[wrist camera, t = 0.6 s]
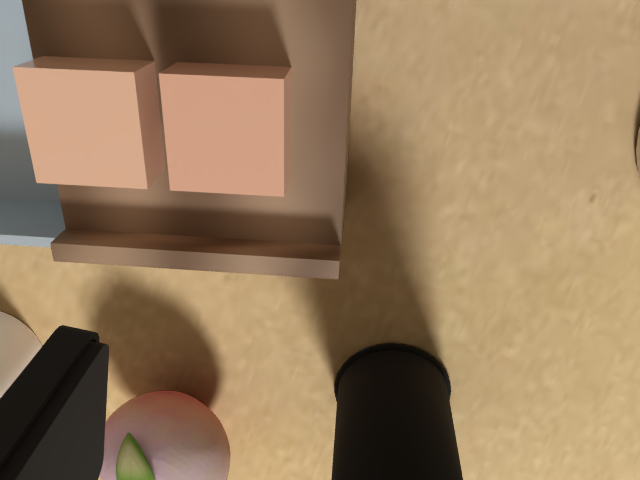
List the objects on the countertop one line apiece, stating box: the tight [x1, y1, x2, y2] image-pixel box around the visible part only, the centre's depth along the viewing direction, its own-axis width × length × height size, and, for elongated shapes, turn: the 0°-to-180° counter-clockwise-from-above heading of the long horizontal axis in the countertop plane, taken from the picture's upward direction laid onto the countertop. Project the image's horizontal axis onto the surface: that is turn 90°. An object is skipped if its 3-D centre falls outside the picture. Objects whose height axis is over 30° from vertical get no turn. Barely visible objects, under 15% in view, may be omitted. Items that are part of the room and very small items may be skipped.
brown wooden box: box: [22, 0, 356, 279], centre depth 29 cm, size 14×14×9 cm
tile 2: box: [12, 56, 165, 189], centre depth 26 cm, size 5×5×2 cm
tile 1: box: [159, 62, 292, 197], centre depth 25 cm, size 5×5×2 cm
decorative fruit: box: [100, 391, 230, 480], centre depth 39 cm, size 9×8×10 cm
